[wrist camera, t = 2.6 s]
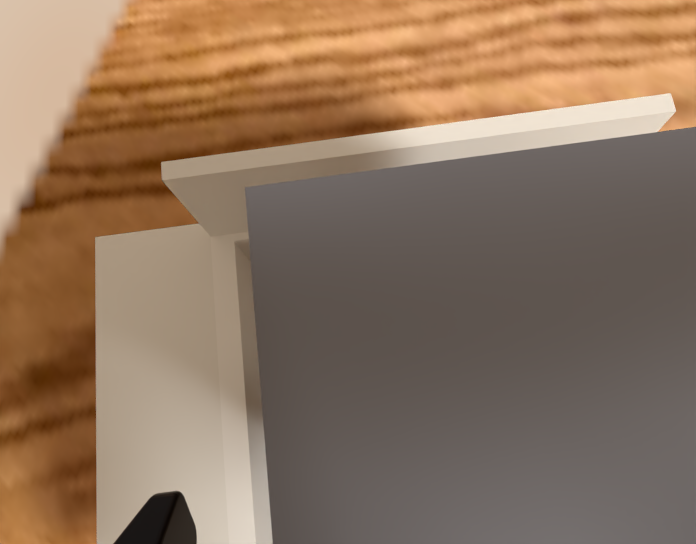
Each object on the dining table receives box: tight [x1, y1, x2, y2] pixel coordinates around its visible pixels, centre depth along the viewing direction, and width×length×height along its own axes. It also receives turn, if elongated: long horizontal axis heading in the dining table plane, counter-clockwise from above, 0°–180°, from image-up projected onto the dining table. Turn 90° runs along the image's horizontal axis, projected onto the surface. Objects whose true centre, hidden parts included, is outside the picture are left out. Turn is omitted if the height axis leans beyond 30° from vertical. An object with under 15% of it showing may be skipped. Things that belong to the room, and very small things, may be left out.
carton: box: [95, 93, 676, 544], centre depth 14 cm, size 14×16×8 cm
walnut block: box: [245, 127, 696, 544], centre depth 11 cm, size 4×5×12 cm
